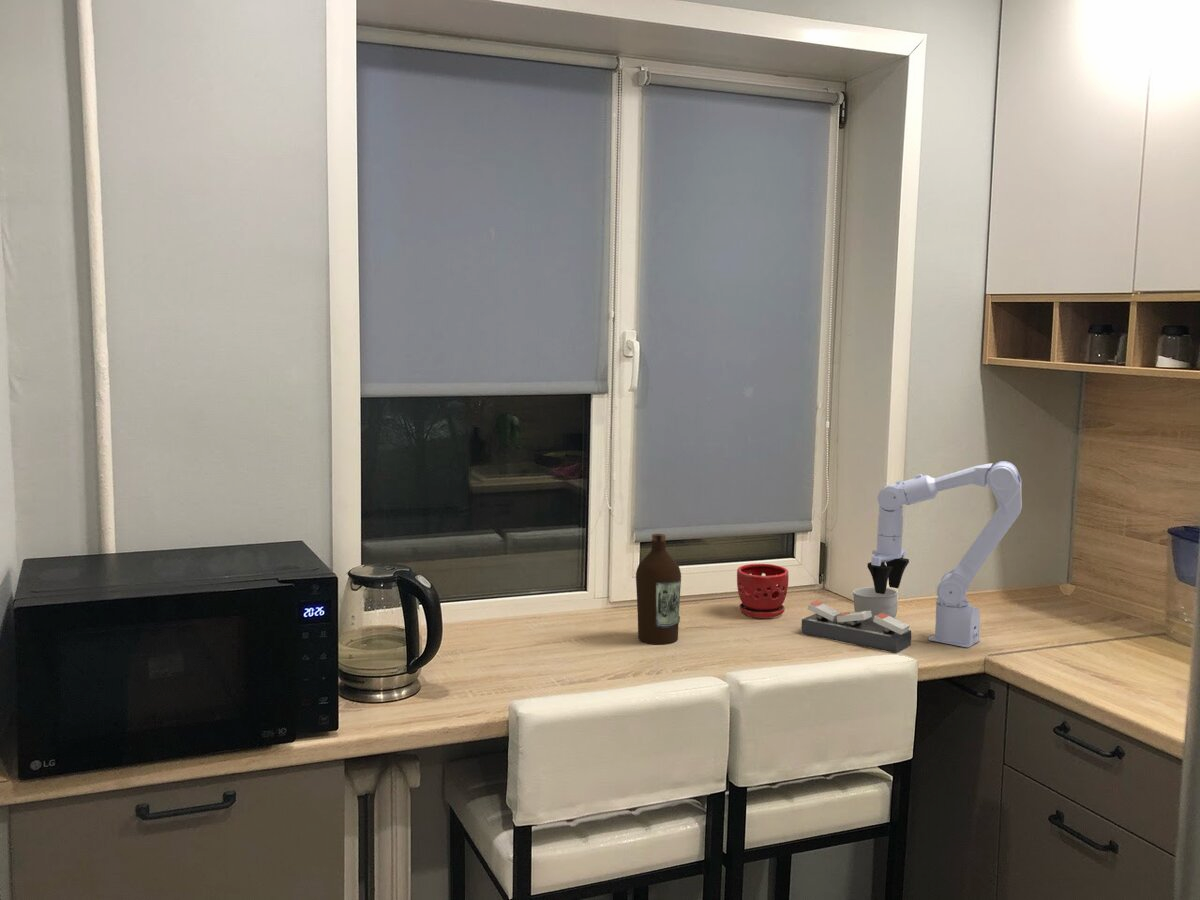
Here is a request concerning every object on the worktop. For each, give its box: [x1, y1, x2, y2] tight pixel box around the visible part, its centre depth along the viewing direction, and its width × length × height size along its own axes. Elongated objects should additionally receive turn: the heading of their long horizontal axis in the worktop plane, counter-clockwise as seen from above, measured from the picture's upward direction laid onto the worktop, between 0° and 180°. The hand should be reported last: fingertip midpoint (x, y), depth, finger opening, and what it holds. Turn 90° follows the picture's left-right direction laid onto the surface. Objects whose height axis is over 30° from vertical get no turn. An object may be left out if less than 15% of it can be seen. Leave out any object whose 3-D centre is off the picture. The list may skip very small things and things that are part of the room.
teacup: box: [852, 586, 899, 624], centre depth 255 cm, size 14×11×8 cm
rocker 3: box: [873, 613, 910, 635], centre depth 233 cm, size 7×4×2 cm, turn 50°
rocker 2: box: [837, 611, 872, 622], centre depth 239 cm, size 7×4×2 cm, turn 49°
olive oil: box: [635, 533, 682, 645], centre depth 238 cm, size 11×11×25 cm
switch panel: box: [801, 613, 912, 654], centre depth 239 cm, size 24×8×5 cm, turn 49°
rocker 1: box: [807, 600, 843, 621], centre depth 244 cm, size 7×4×2 cm, turn 50°
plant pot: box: [736, 563, 789, 619], centre depth 260 cm, size 13×13×12 cm
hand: (887, 590), depth 243 cm, fingers open, 7 cm apart
